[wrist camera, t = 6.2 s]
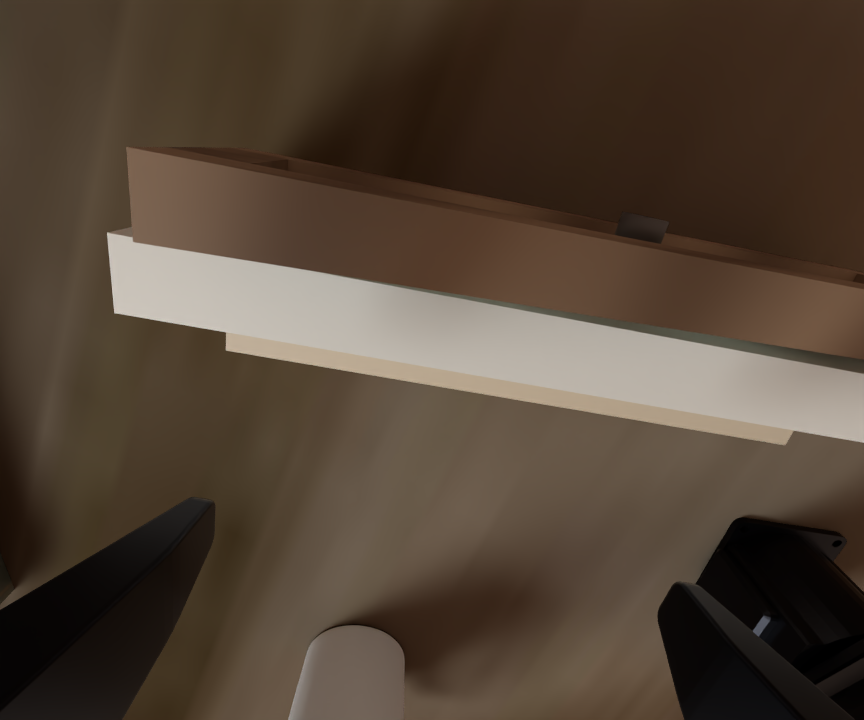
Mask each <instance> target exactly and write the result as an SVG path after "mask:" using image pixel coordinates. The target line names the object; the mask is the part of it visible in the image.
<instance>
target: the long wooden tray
mask: <svg viewBox="0 0 864 720" xmlns="http://www.w3.org/2000/svg"><path fill="white" fill-rule="evenodd" d="M107 237H108V248H109V259H110V270H111V281H112V292H113V303H114V313H118V314H123V315H129V316H135V317H141V318H147V319H152V320H158V321H164V322H170V323H175V324H181V325H187V326H193V327H199V328H204V329H210V330H216V331H222V332H226V350H227V351H233V352H238V353H244V354H250V355H256V356H262V357H268V358H274V359H280V360H286V361H291V362H297V363H303V364H309V365H315V366H321V367H327V368H333V369H339V370H345V371H350V372H356V373H362V374H368V375H374V376H380V377H386V378H392V379H398V380H403V381H409V382H415V383H421V384H427V385H433V386H439V387H445V388H451V389H456V390H462V391H468V392H474V393H480V394H486V395H492V396H498V397H504V398H509V399H515V400H521V401H527V402H533V403H539V404H545V405H551V406H557V407H562V408H568V409H574V410H580V411H586V412H592V413H598V414H604V415H610V416H615V417H621V418H627V419H633V420H639V421H645V422H651V423H657V424H663V425H668V426H674V427H680V428H686V429H692V430H698V431H704V432H710V433H716V434H721V435H727V436H733V437H739V438H745V439H751V440H757V441H763V442H769V443H774V444H780V445H785V444H786V443H787V441H788V439H789V438H790V436H791V434H792V433H793V431H800V432H806V433H811V434H817V435H823V436H829V437H834V438H840V439H846V440H852V441H858V442H863V443H864V360H863V359H856V358H850V357H844V356H838V355H831V354H825V353H819V352H813V351H807V350H800V349H794V348H788V347H782V346H776V345H769V344H763V343H757V342H751V341H744V340H738V339H732V338H726V337H720V336H713V335H707V334H701V333H695V332H688V331H682V330H676V329H670V328H664V327H657V326H651V325H645V324H639V323H633V322H626V321H620V320H614V319H608V318H601V317H595V316H589V315H583V314H577V313H570V312H564V311H558V310H552V309H545V308H539V307H533V306H527V305H521V304H514V303H508V302H502V301H496V300H490V299H483V298H477V297H471V296H465V295H458V294H452V293H446V292H440V291H434V290H427V289H421V288H415V287H409V286H403V285H396V284H390V283H384V282H378V281H371V280H365V279H359V278H353V277H347V276H340V275H334V274H328V273H322V272H315V271H309V270H303V269H297V268H291V267H284V266H278V265H272V264H266V263H260V262H253V261H247V260H241V259H235V258H228V257H222V256H216V255H210V254H204V253H197V252H191V251H185V250H179V249H172V248H166V247H160V246H154V245H148V244H141V243H135V242H133V235H132V227H130V228H126V229H121V230H117V231H113V232H108V233H107Z"/></svg>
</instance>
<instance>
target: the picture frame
mask: <svg viewBox="0 0 864 720" xmlns="http://www.w3.org/2000/svg"><path fill="white" fill-rule="evenodd" d="M126 148H127V163H128V177H129V192H130V206H131V220H132V235H133V242H135V243H141V244H148V245H154V246H160V247H166V248H172V249H179V250H185V251H191V252H197V253H204V254H210V255H216V256H222V257H228V258H235V259H241V260H247V261H253V262H260V263H266V264H272V265H278V266H284V267H291V268H297V269H303V270H309V271H315V272H322V273H328V274H334V275H340V276H347V277H353V278H359V279H365V280H371V281H378V282H384V283H390V284H396V285H403V286H409V287H415V288H421V289H427V290H434V291H440V292H446V293H452V294H458V295H465V296H471V297H477V298H483V299H490V300H496V301H502V302H508V303H514V304H521V305H527V306H533V307H539V308H545V309H552V310H558V311H564V312H570V313H577V314H583V315H589V316H595V317H601V318H608V319H614V320H620V321H626V322H633V323H639V324H645V325H651V326H657V327H664V328H670V329H676V330H682V331H688V332H695V333H701V334H707V335H713V336H720V337H726V338H732V339H738V340H744V341H751V342H757V343H763V344H769V345H776V346H782V347H788V348H794V349H800V350H807V351H813V352H819V353H825V354H831V355H838V356H844V357H850V358H856V359H863V360H864V273H862V272H858V271H854V270H849V269H844V268H839V267H834V266H829V265H824V264H819V263H814V262H809V261H804V260H799V259H795V258H790V257H785V256H780V255H775V254H770V253H765V252H760V251H755V250H750V249H745V248H740V247H735V246H730V245H725V244H720V243H715V242H710V241H705V240H700V239H695V238H690V237H685V236H680V235H675V234H670V233H665V232H666V230H667V227H668V224H669V222H668V221H664V220H660V219H655V218H651V217H646V216H642V215H637V214H632V213H627V212H622V214H621V217H620V220H619V223H616V222H611V221H606V220H601V219H596V218H591V217H586V216H581V215H576V214H571V213H566V212H561V211H556V210H551V209H546V208H541V207H536V206H531V205H526V204H521V203H516V202H511V201H506V200H501V199H496V198H491V197H486V196H482V195H477V194H472V193H467V192H462V191H457V190H452V189H447V188H442V187H437V186H432V185H427V184H422V183H417V182H412V181H407V180H402V179H397V178H392V177H387V176H382V175H377V174H372V173H367V172H362V171H357V170H352V169H347V168H342V167H337V166H332V165H328V164H323V163H318V162H313V161H308V160H303V159H298V158H293V157H288V156H283V155H278V154H273V153H268V152H263V151H258V150H253V149H248V148H196V147H126Z"/></svg>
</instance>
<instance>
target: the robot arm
mask: <svg viewBox="0 0 864 720" xmlns="http://www.w3.org/2000/svg"><path fill="white" fill-rule="evenodd" d="M214 532H215V503H214V501H212V500H209V499H203V498H198V497H191V498H188V499H186V500H185V501H183V502H181V503H180V504H178V505H176V506H175V507H173V508H171V509H170V510H168V511H166V512H164V513H163V514H161V515H159V516H158V517H156V518H154V519H153V520H151V521H149V522H148V523H146V524H144V525H143V526H141V527H139V528H138V529H136V530H134V531H132V532H131V533H129V534H127V535H126V536H124V537H122V538H121V539H119V540H117V541H116V542H114V543H112V544H111V545H109V546H107V547H106V548H104V549H102V550H100V551H99V552H97V553H95V554H94V555H92V556H90V557H89V558H87V559H85V560H84V561H82V562H80V563H79V564H77V565H75V566H74V567H72V568H70V569H68V570H67V571H65V572H63V573H62V574H60V575H58V576H57V577H55V578H53V579H52V580H50V581H48V582H47V583H45V584H43V585H42V586H40V587H38V588H36V589H35V590H33V591H31V592H30V593H28V594H26V595H25V596H23V597H21V598H20V599H18V600H16V601H15V602H13V603H11V604H10V605H8V606H6V607H4V608H3V609H1V610H0V720H122V719H123V717H124V716H125V714H126V712H127V710H128V709H129V707H130V705H131V704H132V702H133V700H134V698H135V697H136V695H137V693H138V691H139V690H140V688H141V686H142V684H143V683H144V681H145V679H146V677H147V676H148V674H149V672H150V671H151V669H152V667H153V665H154V664H155V662H156V660H157V658H158V657H159V655H160V653H161V651H162V650H163V648H164V646H165V644H166V643H167V641H168V639H169V637H170V635H171V633H172V632H173V630H174V628H175V625H176V623H177V621H178V619H179V617H180V615H181V612H182V610H183V608H184V606H185V604H186V601H187V599H188V597H189V595H190V592H191V590H192V588H193V586H194V584H195V581H196V579H197V577H198V575H199V572H200V570H201V568H202V566H203V564H204V561H205V559H206V557H207V555H208V552H209V550H210V548H211V545H212V542H213V539H214ZM846 542H847V541H846V539H845V538H844V537H843V536H842V535H841V534H840V533H838V532H835V531H828V530H822V529H815V528H809V527H802V526H796V525H789V524H783V523H776V522H770V521H763V520H757V519H750V518H738V519H736V520H734V521H733V522H732V523H731V525H730V527H729V528H728V530H727V532H726V534H725V535H724V537H723V539H722V540H721V542H720V544H719V545H718V547H717V549H716V550H715V552H714V554H713V555H712V557H711V559H710V560H709V562H708V564H707V566H706V567H705V569H704V571H703V572H702V574H701V576H700V577H699V579H698V581H697V582H696V584H692V583H686V582H676V583H674V584H673V585H672V587H671V588H670V590H669V592H668V593H667V595H666V597H665V599H664V600H663V602H662V604H661V605H660V607H659V610H658V624H659V628H660V632H661V636H662V639H663V643H664V647H665V651H666V655H667V659H668V663H669V667H670V670H671V674H672V678H673V682H674V686H675V690H676V694H677V697H678V701H679V704H680V708H681V711H682V714H683V717H684V720H864V592H863V591H862V590H861V589H860V588H859V587H858V586H857V585H856V584H855V583H854V582H853V581H852V580H851V579H850V578H849V577H848V576H847V575H846V574H845V573H844V572H843V571H842V570H841V569H840V568H839V567H838V566H837V565H836V564H835V563H834V562H833V561H834V559H835V558H836V557H837V555H838V554H839V553H840V551H841V550H842V549H843V547H844V546H845V544H846Z"/></svg>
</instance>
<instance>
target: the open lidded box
mask: <svg viewBox="0 0 864 720" xmlns="http://www.w3.org/2000/svg"><path fill="white" fill-rule="evenodd" d="M13 590H14V587H13V584H12V582H11V579H10V577H9V574H8V571H7V569H6V566H5V564H4V561H3V558H2V556H1V553H0V604H1V603H2V602H3V601H4V600H5V599H6V598H7V596H8V595H9V594H10V593H11V592H12V591H13Z"/></svg>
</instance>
